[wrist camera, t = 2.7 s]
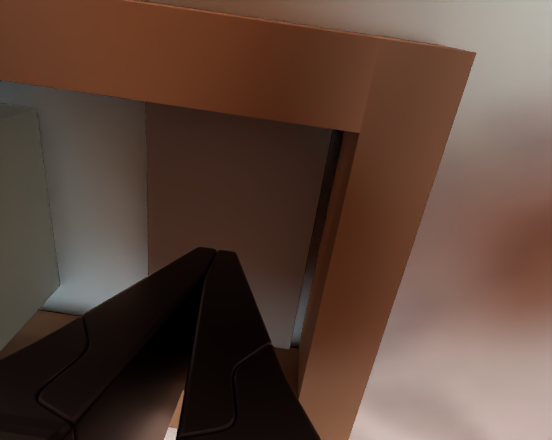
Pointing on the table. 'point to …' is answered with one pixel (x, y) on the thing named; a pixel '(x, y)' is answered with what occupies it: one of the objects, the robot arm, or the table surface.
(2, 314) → the block
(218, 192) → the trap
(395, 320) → the table surface
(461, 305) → the table surface
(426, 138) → the channel
